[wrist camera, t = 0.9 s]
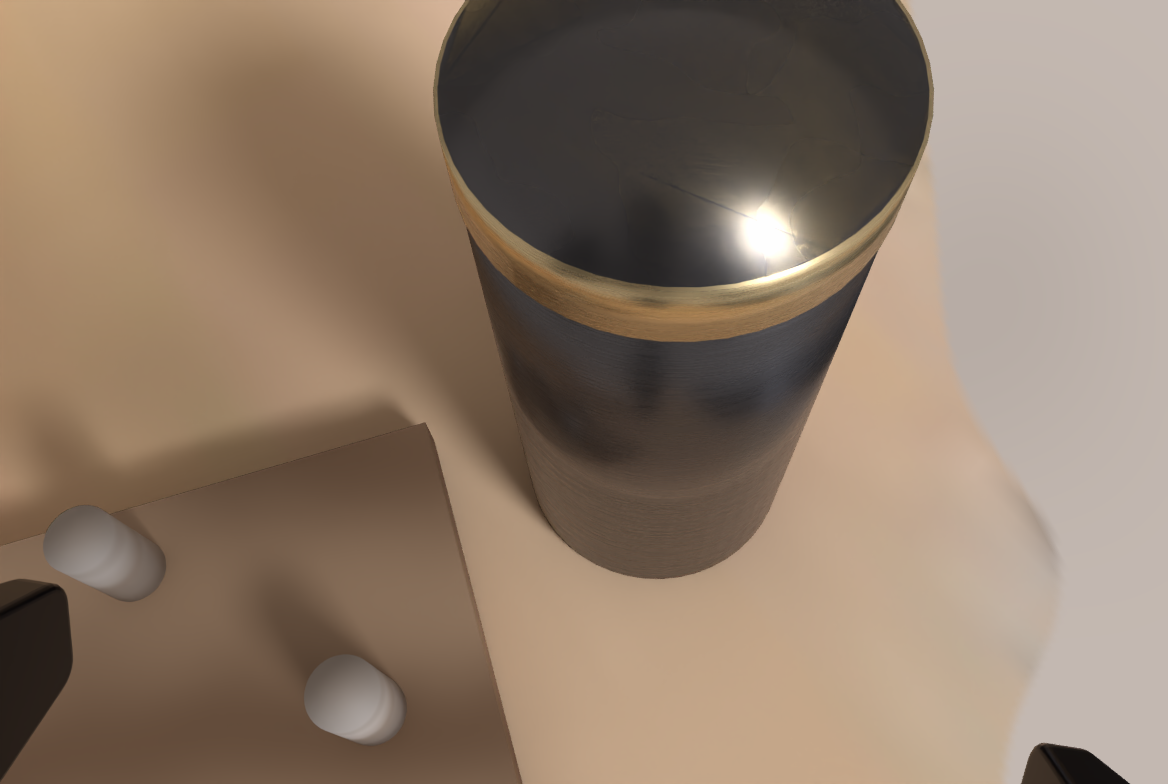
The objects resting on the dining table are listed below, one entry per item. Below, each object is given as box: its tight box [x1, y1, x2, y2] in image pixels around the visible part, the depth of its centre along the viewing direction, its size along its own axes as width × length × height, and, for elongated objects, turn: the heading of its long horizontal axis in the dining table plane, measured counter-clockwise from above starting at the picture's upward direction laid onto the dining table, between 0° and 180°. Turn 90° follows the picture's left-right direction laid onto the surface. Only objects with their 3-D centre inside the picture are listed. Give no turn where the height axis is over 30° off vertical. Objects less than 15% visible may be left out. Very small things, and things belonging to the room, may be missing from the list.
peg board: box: [0, 423, 522, 784], centre depth 20 cm, size 12×14×4 cm
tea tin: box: [433, 0, 934, 579], centre depth 18 cm, size 6×6×13 cm
